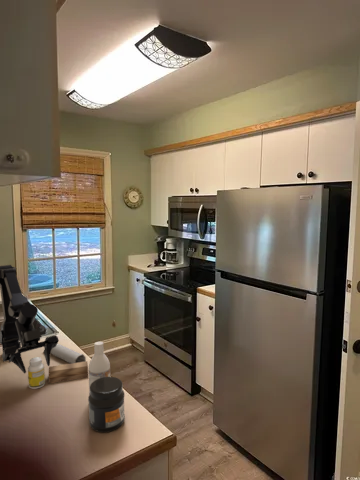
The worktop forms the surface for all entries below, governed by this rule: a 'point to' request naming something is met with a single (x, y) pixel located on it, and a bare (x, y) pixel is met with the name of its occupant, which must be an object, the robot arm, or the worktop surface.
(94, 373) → the bath foam
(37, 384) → the supplement bottle
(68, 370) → the ridge
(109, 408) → the supplement container
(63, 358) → the tube
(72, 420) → the worktop surface
